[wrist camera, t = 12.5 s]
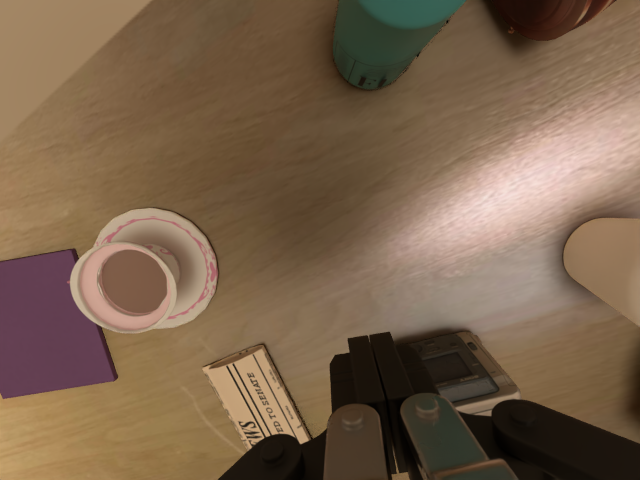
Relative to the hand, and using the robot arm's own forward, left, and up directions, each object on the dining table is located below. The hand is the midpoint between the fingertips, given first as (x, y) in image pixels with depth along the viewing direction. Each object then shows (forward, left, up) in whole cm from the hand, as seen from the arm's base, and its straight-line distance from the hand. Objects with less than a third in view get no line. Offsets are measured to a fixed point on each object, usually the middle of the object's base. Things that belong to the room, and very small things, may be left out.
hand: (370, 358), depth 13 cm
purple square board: (+4, -31, -22) cm, 38 cm away
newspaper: (+22, -10, -22) cm, 33 cm away
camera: (+14, +6, -22) cm, 27 cm away
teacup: (0, -18, -22) cm, 28 cm away
